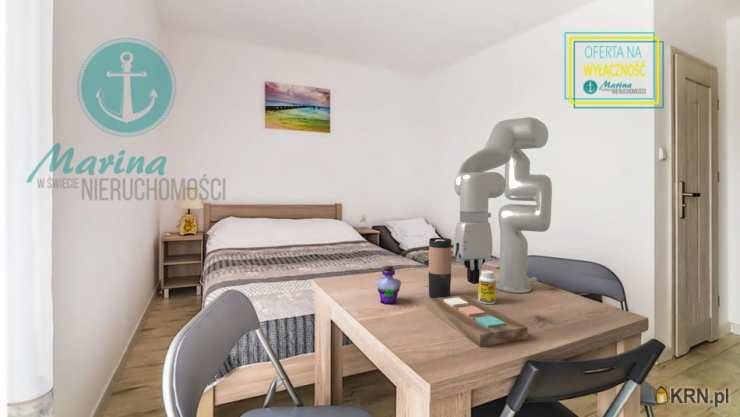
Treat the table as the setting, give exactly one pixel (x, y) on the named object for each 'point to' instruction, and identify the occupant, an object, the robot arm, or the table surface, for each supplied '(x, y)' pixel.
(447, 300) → the ivory button
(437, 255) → the travel mug
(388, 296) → the potion bottle
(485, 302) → the supplement bottle
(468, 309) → the terracotta button
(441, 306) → the console
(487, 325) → the teal button
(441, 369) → the table surface
